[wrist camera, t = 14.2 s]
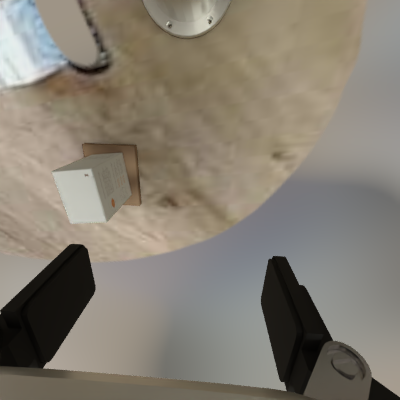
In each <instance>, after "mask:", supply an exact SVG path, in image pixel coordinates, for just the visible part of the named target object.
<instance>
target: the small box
mask: <svg viewBox="0 0 400 400" xmlns="http://www.w3.org/2000/svg"><path fill="white" fill-rule="evenodd" d="M51 173H52V175H53V178H54V181H55V183H56V186H57V189H58V191H59V194H60V197H61V199H62V202H63V205H64V208H65V210H66V213H67V216H68V218H69V221H70V223H71V224H77V223H104V222H108V221H109V219H110V218H111V217H112V216H113V215H114V214H115V213H116V212H117V211H118V210H119V208H120V207H121V206H122V205H123V204H124V203H125V202H126V201H127V200H128V198H129V197H130V196H131V195H132V193H131V189H130V185H129V180H128V176H127V171H126V167H125V163H124V158H123V154H122V153H109V154H95V155H90V156H88V157H85V158H83V159H80V160H78V161H75V162H73V163H71V164H68V165H66V166H63V167H61V168H59V169H56V170H54V171H52V172H51Z"/></svg>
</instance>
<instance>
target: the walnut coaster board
mask: <svg viewBox="0 0 400 400" xmlns="http://www.w3.org/2000/svg"><path fill="white" fill-rule="evenodd" d="M82 146H83V152H84V157H88V156H90V155H95V154H109V153H122V154H123V158H124V163H125V167H126V171H127V176H128V180H129V185H130V189H131V193H132V195H131V196H130V197H129V198H128V200H127V201H126V202H125V203H124V204H123V205H135V206H140V205H141V194H140V182H139V170H138V158H137V147H136V145H115V144H91V143H85V144H82Z"/></svg>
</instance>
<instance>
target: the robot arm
mask: <svg viewBox="0 0 400 400" xmlns="http://www.w3.org/2000/svg"><path fill="white" fill-rule="evenodd" d="M142 1H143V3H144V6H145V8H146V10H147V11H148V13H149V15H150V16H151V17H152V19H153V20H154V21H155V23H156V24H157V25H158V26H159V27H160V28H161V29H163V30H164V31H166V32H167V33H169V34H170V35H173V36H176V37H178V38H186V39H187V38H196V37H199V36H201V35H204V34H206V33H207V32H209V31H210V30H212V29H213V28H214V27H215V26H216V25H217V24H218V23H219V22H220V21H221V19H222V18H223V17H224V15H225V13H226V11H227V9H228V7H229V5H230V2H231V0H142ZM208 21H212V23H211V24H209V23H208ZM169 25H172V28H171V29H170V28H169ZM94 292H95V282H94V277H93V273H92V268H91V263H90V259H89V254H88V250H87V248H85V246H84V245H81V244H70V245H69V246H68V247H67V248H66V249H65V250H64V251H62V252H61V253H60V254H59V255H58V256H57V257H56V258H55V259H54V260H53V261H52V262H51V263H50V264H49V265H48V266H47V267H46V268H45V269H44V270H42V271H41V272H40V273H39V274H38V275H37V276H36V277H35V278H34V279H33V280H32V281H31V282H30V283H29V284H28V285H27V286H26V287H24V288H23V289H22V290H21V291H20V292H19V293H18V294H17V295H16V296H15V297H14V298H13V299H12V300H11V301H10V302H9V303H8V304H6V306H5V307H3V308H2V309H1V310H0V311H1V314H0V400H400V397H398V396H397V395H396V394H394V393H393V392H392V391H390V390H389V389H387V388H386V387H385V386H383V385H382V384H380V383H379V382H378V381H376V380H375V379H373V378H372V376H371V370H370V368H369V365H368V364H367V362H366V361H365V359H364V358H363V357H362V356H361V355H360V354H359V353H358V352H357V351H356V350H354V349H353V348H352V347H350V346H348V345H346V344H344V343H341V342H338V341H333V339H332V337H331V336H330V334H329V332H328V330H327V328H326V326H325V324H324V322H323V320H322V318H321V317H320V314H319V312H318V310H317V309H316V307H315V305H314V303H313V301H312V299H311V297H310V295H309V293H308V291H307V289H306V288H305V287H304V286H303V285H299V283H298V281H297V279H296V277H295V275H294V273H293V271H292V269H291V267H290V265H289V263H288V261H287V259H286V257H281V256H273V258H272V259H269V260H268V265H267V270H266V276H265V280H264V286H263V291H262V296H261V306H262V310H263V314H264V318H265V322H266V326H267V330H268V334H269V338H270V342H271V346H272V351H273V354H274V359H275V362H276V367H277V371H278V375H279V379H280V381H281V382H285V386H286V390H287V391H281V390H275V389H269V388H259V387H250V386H241V385H232V384H221V383H210V382H199V381H187V380H177V379H166V378H153V377H141V376H130V375H118V374H106V373H93V372H81V371H67V370H55V369H43V367H44V366H45V364H46V363H47V362H49V361H51V359H52V358H53V356H54V355H55V354H56V352H57V350H58V349H59V347H60V346H61V344H62V343H63V341H64V339H65V338H66V336H67V335H68V333H69V332H70V330H71V329H72V327H73V325H74V324H75V322H76V321H77V319H78V318H79V316H80V315H81V313H82V312H83V310H84V309H85V307H86V305H87V304H88V302H89V301H90V299H91V298H92V296H93V295H94Z"/></svg>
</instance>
